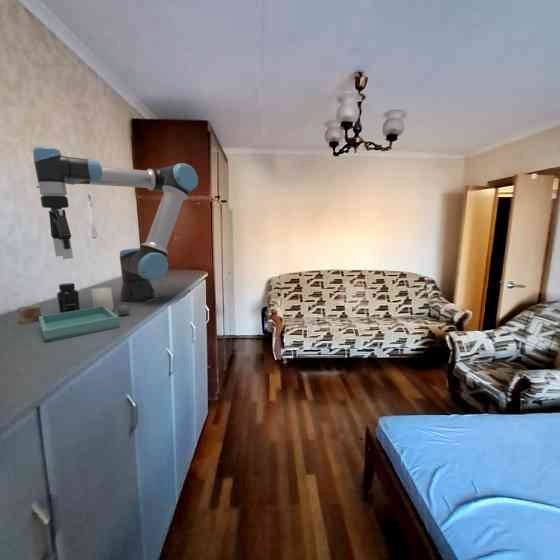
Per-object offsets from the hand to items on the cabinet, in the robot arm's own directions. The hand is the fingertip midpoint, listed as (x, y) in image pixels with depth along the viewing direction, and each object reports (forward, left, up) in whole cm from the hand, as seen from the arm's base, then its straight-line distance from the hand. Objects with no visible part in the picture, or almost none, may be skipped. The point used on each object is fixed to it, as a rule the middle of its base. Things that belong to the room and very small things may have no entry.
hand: (64, 257), depth 108 cm
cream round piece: (-11, -4, -23) cm, 26 cm away
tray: (0, +13, -23) cm, 26 cm away
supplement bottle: (0, -7, -23) cm, 24 cm away
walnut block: (+12, -7, -23) cm, 27 cm away
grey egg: (-15, +9, -23) cm, 29 cm away
